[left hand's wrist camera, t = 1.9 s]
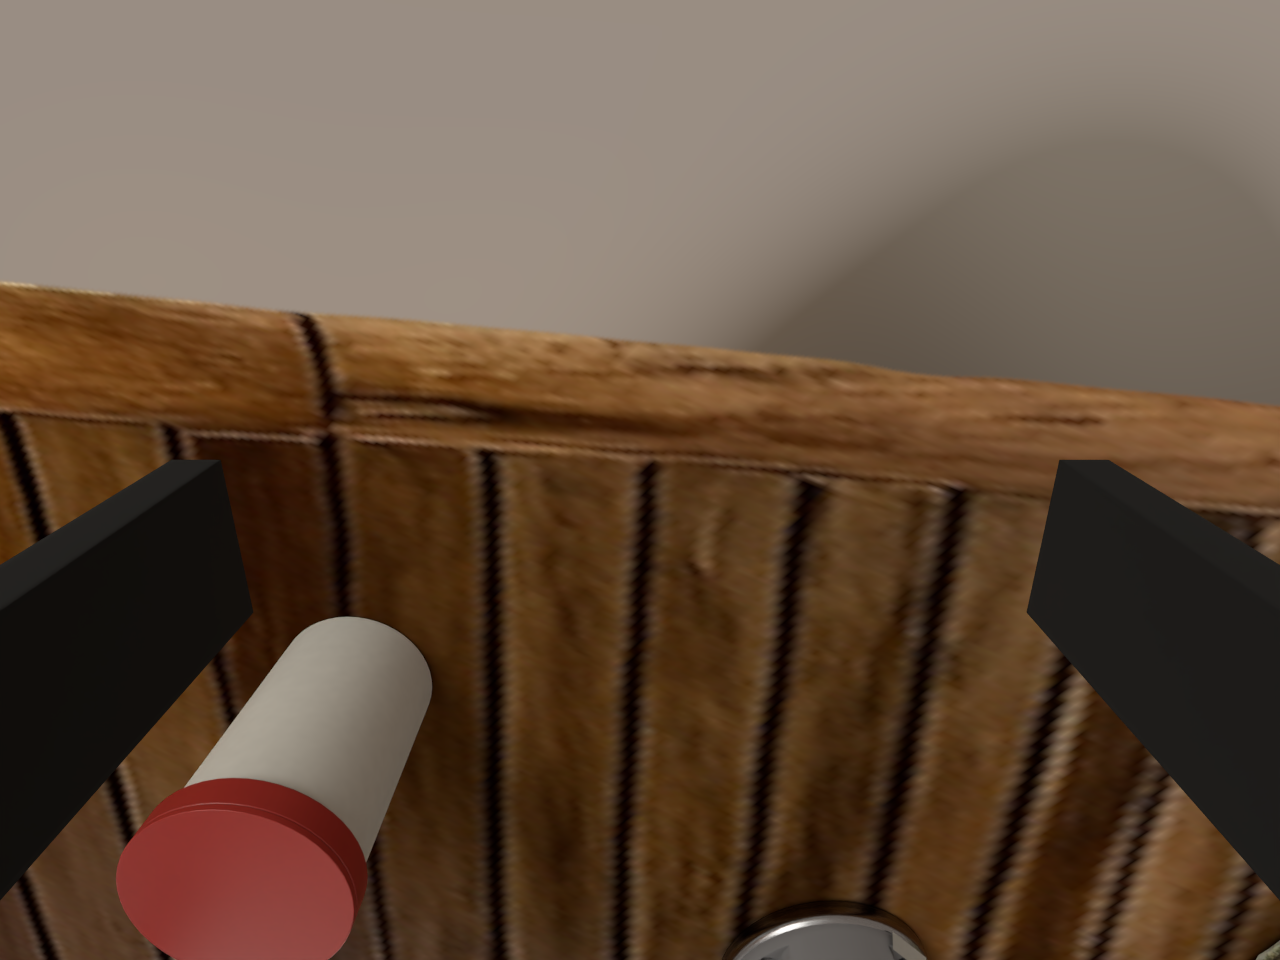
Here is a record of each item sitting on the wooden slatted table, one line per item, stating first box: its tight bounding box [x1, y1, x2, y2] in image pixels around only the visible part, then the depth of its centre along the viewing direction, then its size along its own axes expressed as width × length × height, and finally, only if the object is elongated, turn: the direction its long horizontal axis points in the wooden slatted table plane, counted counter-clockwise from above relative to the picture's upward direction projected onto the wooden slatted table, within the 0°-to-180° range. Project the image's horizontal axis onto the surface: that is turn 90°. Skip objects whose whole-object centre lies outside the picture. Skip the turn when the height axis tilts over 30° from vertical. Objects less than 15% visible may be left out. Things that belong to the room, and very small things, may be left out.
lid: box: [116, 778, 367, 960], centre depth 34 cm, size 10×10×2 cm
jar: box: [184, 617, 432, 862], centre depth 40 cm, size 9×9×15 cm
